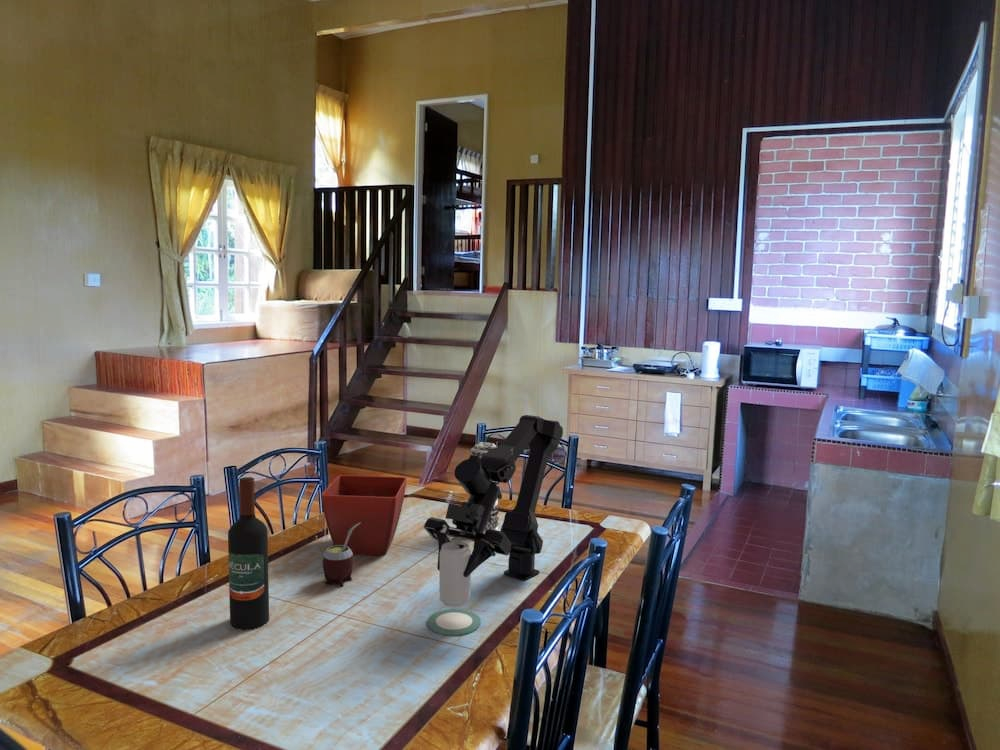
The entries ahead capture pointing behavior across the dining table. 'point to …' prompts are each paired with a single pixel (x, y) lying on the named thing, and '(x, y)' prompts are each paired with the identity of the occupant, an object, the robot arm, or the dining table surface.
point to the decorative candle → (480, 451)
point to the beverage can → (454, 574)
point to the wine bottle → (248, 564)
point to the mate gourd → (338, 562)
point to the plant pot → (364, 511)
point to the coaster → (453, 622)
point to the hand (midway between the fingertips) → (451, 573)
